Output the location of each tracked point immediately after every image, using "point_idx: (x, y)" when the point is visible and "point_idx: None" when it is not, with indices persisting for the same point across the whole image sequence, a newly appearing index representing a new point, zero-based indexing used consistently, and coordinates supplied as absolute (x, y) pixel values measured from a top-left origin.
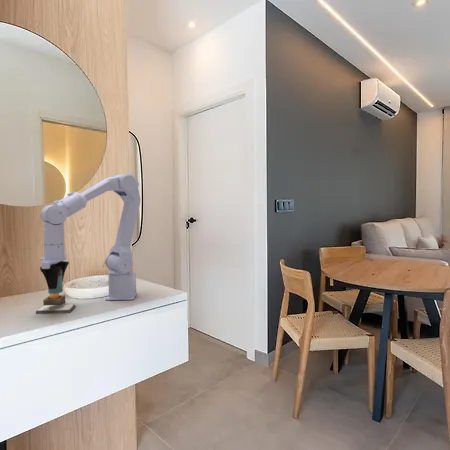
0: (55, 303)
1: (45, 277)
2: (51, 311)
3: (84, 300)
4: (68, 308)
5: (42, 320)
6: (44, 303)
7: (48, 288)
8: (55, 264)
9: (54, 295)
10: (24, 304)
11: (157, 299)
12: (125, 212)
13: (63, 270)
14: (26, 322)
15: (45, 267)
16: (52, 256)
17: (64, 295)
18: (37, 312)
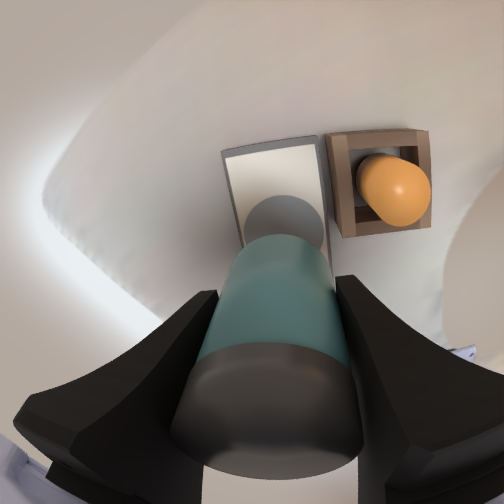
0: (337, 205)
1: (124, 358)
2: (238, 229)
3: (428, 287)
4: None
5: (154, 234)
6: (328, 142)
7: (234, 268)
8: (378, 491)
9: (369, 202)
10: (365, 7)
11: None
12: None
13: None
14: (122, 182)
15: (17, 460)
16: None
17: (425, 226)
18: (224, 158)
